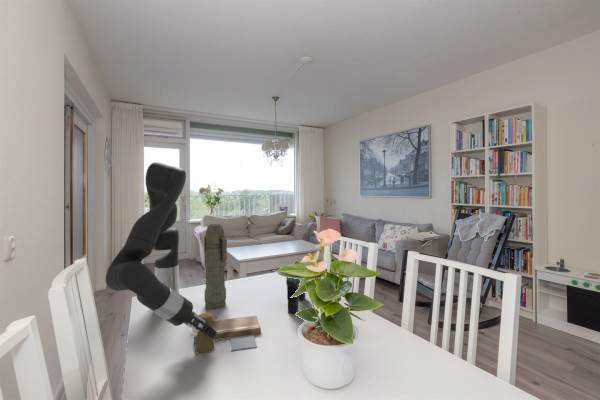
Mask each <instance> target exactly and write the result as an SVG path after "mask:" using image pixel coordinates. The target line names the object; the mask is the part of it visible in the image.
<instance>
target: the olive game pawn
mask: <svg viewBox="0 0 600 400" xmlns="http://www.w3.org/2000/svg"><path fill="white" fill-rule="evenodd" d="M198 315H199V317H200V318H202V319H203V320H204V321H205V323H206V324H207V325H209V326H211V327H212V323H213V321H214V316H213V314H212V313H210V312H202V313H200V314H198ZM199 320H200V319H199ZM214 349H216V346H215V340H214V338H211V337H210V336H208V335H205V334H203V333H202V332H201V331H197V338H196V342H195V347H194V351H195V353H197V354H200V355H203V354H204V355H205V354H209V353H211V352H212V351H214Z"/></svg>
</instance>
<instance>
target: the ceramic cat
mask: <svg viewBox="0 0 600 400" xmlns="http://www.w3.org/2000/svg"><path fill="white" fill-rule="evenodd" d="M295 264H296V265H297V264H299V261H295V263H294V265H295ZM285 281H286V292H287V293H286V298H287V313H288V314H290V315H296V314H295V313H296V312H297V313H298V312H299V302H300V301H305V300H306V293H303V294H301V295H299V296H297V297H293V298H290V297H291V296H292V295H293V294H294V293H295V291H296V290H297V289H298V287H299V283H300V280H299V279H294V278H288V277H287V276H286V280H285Z"/></svg>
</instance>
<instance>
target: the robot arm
mask: <svg viewBox="0 0 600 400" xmlns="http://www.w3.org/2000/svg"><path fill="white" fill-rule="evenodd" d="M186 179H187V173H186V170H185V169H183V168H181V167H177V166H174V165H169V164H167V163H164V162H158V161H157V162H156V161H154V162H151V164H149V165H148V167H147V169H146V174H145V186H146V187H145V188H146V193H147V196H148V197H147V198H148V201H149V210H148V211H147V212H146V213H144V214H142V215H141V216H140V217H138V219H137V220H136V221H135V223H134V224H133V226H132V227H131V229H130V232H129V234H128V237H127V239H126V241H125V244H124V246H122V248H121V249H120V250H119V252H118V253H117V255H116V256H115V257H114V259H113V260H112V262H111V263H110V265H109V266H108V268H107V270H106V274H105V284H106V286H107V287H108V288H109V289H110V290H113V291H116V292H118V291H120V292H121V291H127V290H129V291H131V292H133V293H134V294H136V299H137V301H138V302H139V303H140V304H141V305H143V306H145V308H146V307H147V308H148V309H149V310H151V311H152V312H153V313H154V314H156V315H157V316H158V317H160V318H161V319H163V320H165V321H167V323H170V324H172V325H173V326H181V325H182V324H185V325H186V326H187V327H189V328H192V329H193V330H194V331H195V330H196V331H201V332H202V333H203V334H205V335H208V336H210V337H211V338H214V337H215V335H216V334H217V331H215V330H214V329H212V327H211V326H209V325H207V324H206V323H205V321H204V320H203V319H202V318H200V317H199V315H200V314H197V313H196V312H194V311H193V309H194V304H193V302H192V301H190V300H189V299H187V297H184V296H183V295H182V294H180V283H179V281H180V280H179V279H180V272H179V271H180V270H179V246H180V245H179V243H180V235H179V231H178V229H177V228H176V227H173V226H174V224H175V223H176V221H177V219H178V206H177V204H176V202H177V201H178V199H179V198H180V195H181V193H182V191H183V189H184V187H185V184H186ZM153 250H154V251H169V250H170V251H169V252H168V253H167V254H165V255H163V256H161V257H158V258H156V259H155V261H154V272H153V271H152V270H151V269H150V268H149V267H148V266H147V265H146V264H145V263H142V261H143V260H144V259H145V258H147V257H149V256H150V255H151V254H152V252H153ZM199 319H200V320H199Z"/></svg>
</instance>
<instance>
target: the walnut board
mask: <svg viewBox="0 0 600 400" xmlns="http://www.w3.org/2000/svg"><path fill="white" fill-rule="evenodd" d="M212 329H214V330H215V331H217V334H216V335H215V337H214V341H216V340H220V339H221V340H222V339H228V338H229V339H230V337H237V336H244V335H251V334H254V335H258V334H261V332H262V329H261V325H260V321H259V319H258V315H252V316H251V315H249V316H240V317H233V318H227V319H226V318H224V319H216V320H215V319H214V320H213V323H212ZM196 338H197V331H196V330H195V329H194V335H193V339H194V340H193V342H194V343H196Z"/></svg>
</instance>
